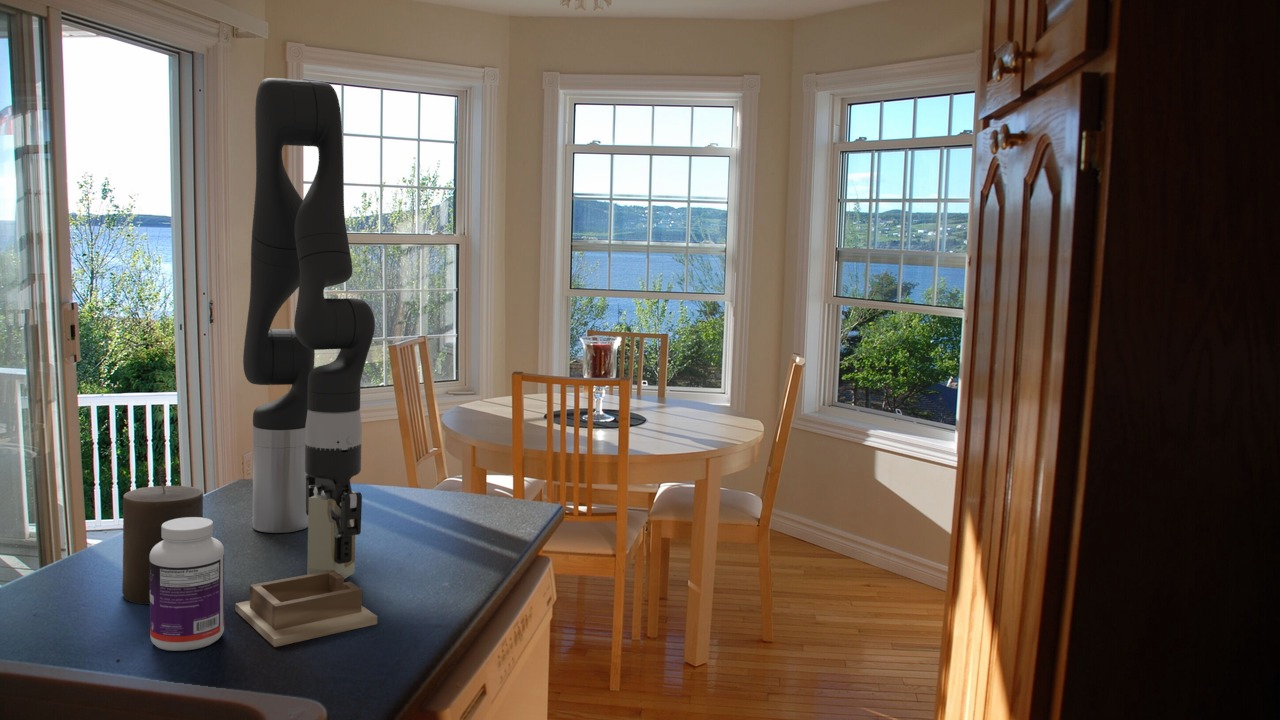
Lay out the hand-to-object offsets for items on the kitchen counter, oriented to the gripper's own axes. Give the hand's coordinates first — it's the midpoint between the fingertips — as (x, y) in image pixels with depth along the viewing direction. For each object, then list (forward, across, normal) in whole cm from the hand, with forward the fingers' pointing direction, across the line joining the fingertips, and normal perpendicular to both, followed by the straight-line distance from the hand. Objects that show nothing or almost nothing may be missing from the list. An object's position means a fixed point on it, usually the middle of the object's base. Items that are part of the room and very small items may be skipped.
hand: (332, 554), depth 138 cm
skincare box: (+4, 0, 0) cm, 4 cm away
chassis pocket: (+4, +11, -8) cm, 14 cm away
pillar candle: (+4, -8, -20) cm, 22 cm away
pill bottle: (+4, +11, -22) cm, 25 cm away
